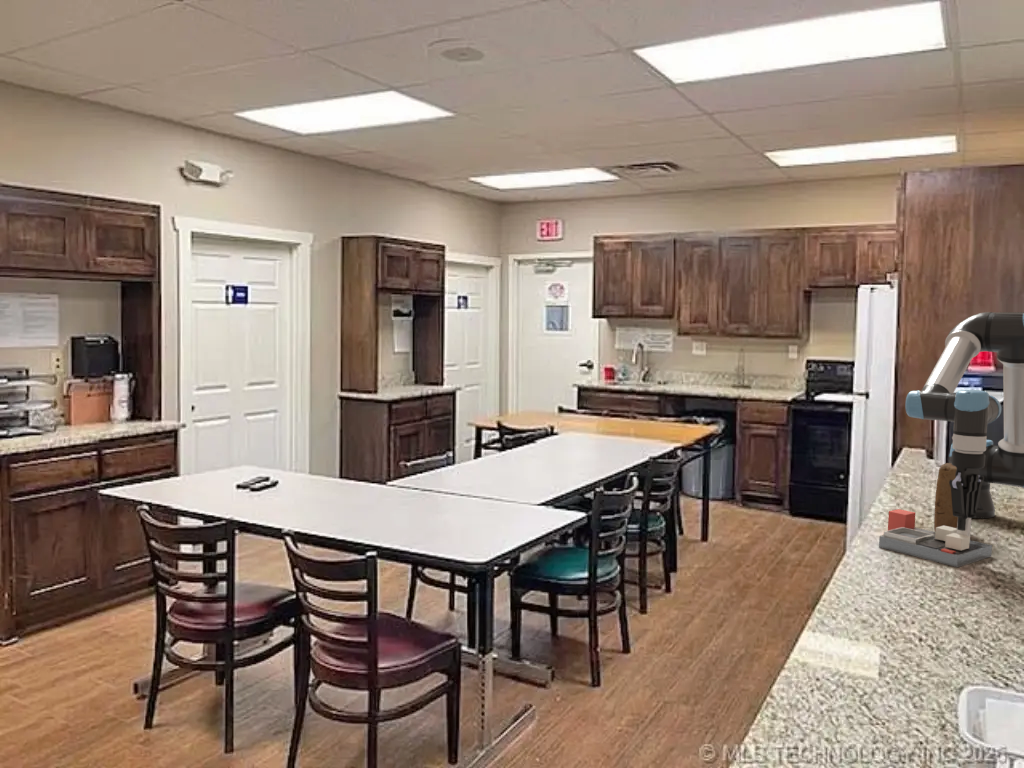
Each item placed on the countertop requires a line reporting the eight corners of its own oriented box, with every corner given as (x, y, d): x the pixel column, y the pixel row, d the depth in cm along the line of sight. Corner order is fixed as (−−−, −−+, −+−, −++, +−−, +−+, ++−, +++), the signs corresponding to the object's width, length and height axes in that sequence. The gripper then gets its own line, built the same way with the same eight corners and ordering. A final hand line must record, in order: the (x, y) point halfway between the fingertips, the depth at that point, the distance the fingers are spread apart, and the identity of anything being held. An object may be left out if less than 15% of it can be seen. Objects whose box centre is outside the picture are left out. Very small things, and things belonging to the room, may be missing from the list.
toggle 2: (953, 544, 219) (954, 532, 218) (969, 548, 215) (969, 536, 215) (945, 546, 216) (945, 535, 216) (960, 550, 213) (961, 538, 213)
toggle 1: (943, 536, 226) (943, 525, 226) (958, 540, 223) (958, 528, 223) (935, 538, 224) (935, 527, 224) (950, 542, 221) (950, 530, 220)
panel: (913, 537, 238) (914, 523, 237) (991, 556, 220) (992, 540, 220) (878, 547, 228) (879, 531, 228) (957, 567, 211) (958, 550, 210)
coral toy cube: (897, 533, 243) (898, 509, 242) (914, 537, 239) (915, 512, 238) (887, 535, 240) (888, 511, 239) (904, 539, 236) (905, 515, 235)
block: (960, 539, 236) (964, 468, 234) (931, 534, 241) (935, 465, 239) (968, 531, 245) (972, 463, 243) (940, 527, 249) (944, 460, 247)
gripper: (967, 446, 222) (961, 535, 224) (940, 451, 214) (934, 542, 217) (996, 451, 216) (990, 541, 218) (970, 455, 208) (964, 549, 211)
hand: (962, 542), depth 217 cm, fingers closed
